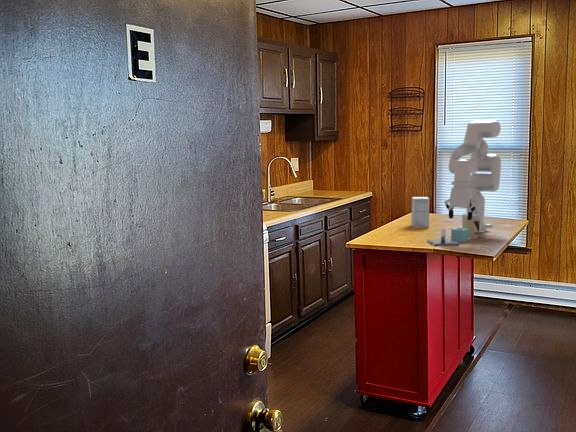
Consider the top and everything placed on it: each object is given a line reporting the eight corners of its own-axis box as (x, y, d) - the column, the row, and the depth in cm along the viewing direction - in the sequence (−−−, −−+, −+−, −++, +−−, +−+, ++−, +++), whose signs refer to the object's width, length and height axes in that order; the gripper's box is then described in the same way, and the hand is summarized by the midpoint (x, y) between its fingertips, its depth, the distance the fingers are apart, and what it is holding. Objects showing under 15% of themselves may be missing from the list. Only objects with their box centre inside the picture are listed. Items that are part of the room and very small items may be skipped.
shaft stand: (450, 241, 302) (451, 227, 301) (459, 245, 290) (459, 231, 289) (427, 241, 301) (427, 227, 300) (434, 245, 289) (435, 231, 288)
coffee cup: (477, 239, 306) (478, 216, 305) (458, 237, 311) (459, 214, 310) (482, 236, 314) (483, 214, 312) (464, 235, 319) (464, 212, 317)
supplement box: (427, 225, 354) (428, 196, 352) (429, 227, 345) (430, 198, 343) (410, 225, 355) (411, 196, 353) (412, 227, 346) (413, 198, 344)
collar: (456, 239, 308) (457, 227, 307) (468, 240, 303) (469, 228, 303) (450, 240, 303) (451, 228, 302) (463, 242, 299) (463, 230, 298)
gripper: (442, 184, 302) (440, 218, 304) (475, 185, 291) (473, 221, 293) (448, 183, 308) (447, 217, 309) (481, 185, 296) (480, 220, 298)
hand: (460, 219), depth 301 cm, fingers open, 9 cm apart
